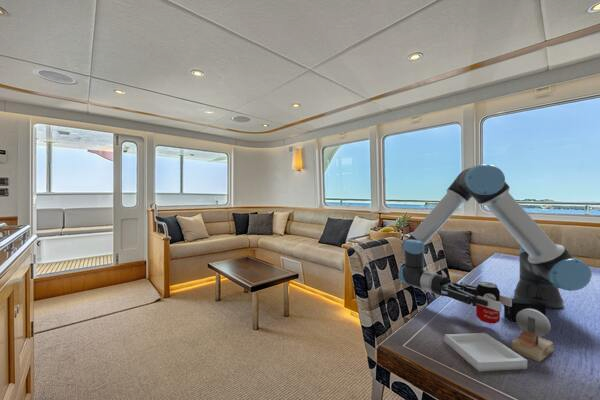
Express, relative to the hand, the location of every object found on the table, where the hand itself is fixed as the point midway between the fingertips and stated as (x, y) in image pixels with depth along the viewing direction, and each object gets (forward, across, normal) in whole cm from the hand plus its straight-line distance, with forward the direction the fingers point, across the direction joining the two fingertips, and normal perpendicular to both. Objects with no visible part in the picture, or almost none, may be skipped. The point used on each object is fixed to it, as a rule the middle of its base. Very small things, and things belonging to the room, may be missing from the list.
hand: (506, 304), depth 80 cm
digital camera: (-2, -17, -10) cm, 20 cm away
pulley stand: (+8, +4, -10) cm, 13 cm away
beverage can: (-5, 0, -7) cm, 9 cm away
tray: (+2, +18, -9) cm, 20 cm away
